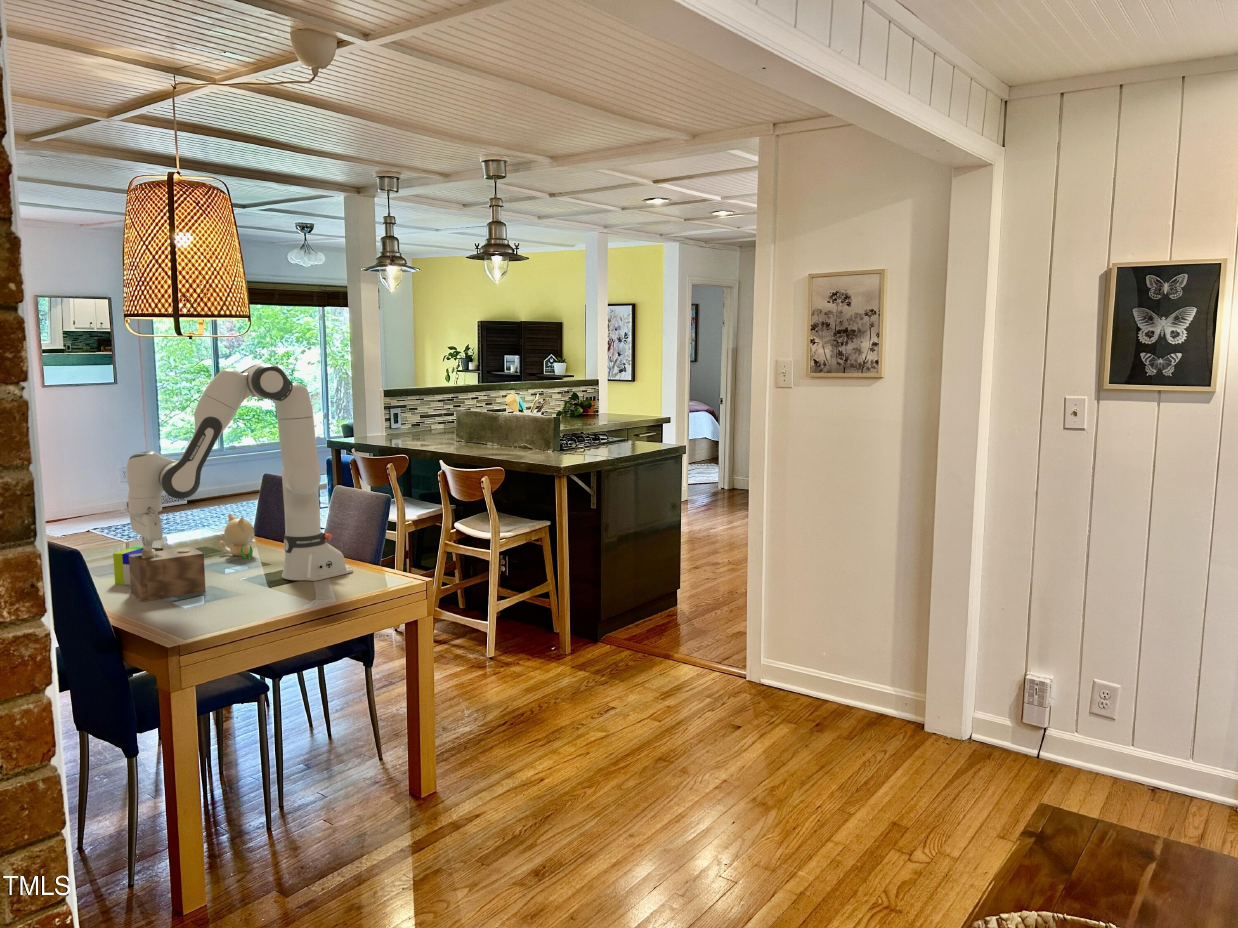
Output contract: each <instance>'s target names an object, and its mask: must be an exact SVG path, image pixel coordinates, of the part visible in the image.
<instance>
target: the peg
mask: <svg viewBox="0 0 1238 928" xmlns="http://www.w3.org/2000/svg"><path fill="white" fill-rule="evenodd" d="M141 553H142V559H144V558H151V557H155V550H154V549H152V551H148V552H147V551H145V550H142V551H141Z"/></svg>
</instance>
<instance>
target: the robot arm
mask: <svg viewBox="0 0 1238 928" xmlns="http://www.w3.org/2000/svg"><path fill="white" fill-rule="evenodd" d="M251 396H252V397H255V398H259V399H263V400H266V399H268V400H272V401H273V403H274V405H275V408H276V417H277V429H278V438H279V439H278V440H279V445H280V452H281V460H282V469H281V470H282V471H281V479H282V480H281V482H282V496H283V509H284V529H285V530H284V531H285V534H284V536H283V548H284V552H285V555H284V565H283V569H282V574H281V578H282V579H285V580H288V581H289V580H290V581H311V582H312V581H313V582H315V581H320V580H324V579H329V578H334V577H337V576H342V575H347V574H350V573H353V568H352V567H351V566H350V565H349V564H346V560H345V557H344V556H345V555H344V554H343V553H342V551H340V550H339V549H337V548H335V547H334V546H333V545H332V544H329V543H328V542H327V541H331V539H332V534H331V533H324V532H323V531H321V530H322V529H321V527H322V526H321V507H320V497H319V486H320V484H321V482H322V481H321V480H322V479H321V478H322V476H321V469H320V462H319V461H320V460H319V454H318V447H317V441H316V431H315V419H314V410H313V404H312V400H311V397H310V393H309V390H308V388H307V387H306V386H305V385H303V384H301V383H298V382H297V383H296V382H292V381H291V380H290V378H289V377H288V376H287V374H286V373H285V371H284V370H283V369H281V368H280V367H279V366H278V365H275V364H270V363H265V362H264V363H257V364H254V365H253V364H252V365H251V366H250V367H248V368H246V369H244V370H243V371H238V370H236V369H233V368H224V369H221V370H220V371H219V372H218V373H217V374H216V375H215V376H214V378H212V380H211V381H210V382H209V384H208V385H207V387H206V388H205V389H204V391H203V393H202V394H201V396H200V398H199V399H198V402H197V405H196V407H195V410H194V412H193V417H194V432H193V435H192V437H191V439H190V441H189V443H188V445H187V447H186V449H185V451H184V452H183V454H182V455H181V458H180V459H179V460H177V459H176V460H175V459H172V458H169V457H166V456H164V455H161V454H160V453H158V452H156V451H154V450H148V451H147V450H146V451H141V452H137V453H134V454H133V455H130V457H129V459H127V463H126V464H127V465H126V481H127V482H126V483H127V486H128V495H127V499H128V500H127V502H126V508H127V509H128V513H129V520H130V521H129V522H130V527H131V530H132V532H134V533H135V534H137V535H139V536H140V538H141V543H142V547H143V549H144V550H145V551H147V552H148V551H152V548H153V543H154V541H156V542H157V541H162V540H163V527H162V526H163V525H162V519H161V516H160V514H158V513H159V512H161V511H162V510H163V503H162V502H163V501H162V492H165V494H166V495H167V496H169V497H171V498H173V499H178V500H181V499H183V500H184V499H188V498H190V497H191V496H193V495H195V494H196V493H197V491H198V490H199V488H200V485H201V475H202V474H201V473H202V469H203V468H204V466H205V463H206V461H207V460H208V458H209V455H210V453H211V452H212V450H213V448H214V446H215V445H216V443H217V441H218V439H220V436H221V435H222V434H223V433H224V431H225V430H226V428H227V427H228V426H229V425H230V423H231V421H232V420H233V419H234V417H235V415H236V414H237V412H238V411H239V409H240V407H241V405H242V403H243V402H244V401H245V400H246V399H248V397H251Z"/></svg>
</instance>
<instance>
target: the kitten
mask: <svg viewBox="0 0 1238 928" xmlns="http://www.w3.org/2000/svg"><path fill="white" fill-rule="evenodd" d="M227 517H228V523H227V524H226V526H225V528H224V533H223V536H224V539H225V541H226V542H227V543H228V544H231V545H232V546H231V548H229V547H228V546H227V545H226V542H225V541H224V540H220V541H219V543H218V544H219V547H220V548H221V549H222V550H224V551H225V553H227V554H230V555H232V556H236V557H242V558H243V560H244V559H245V560H246V559H248V560H250V559H253V553H254V550H253V547H252V546H251V545H250V544H251V543H252V542H253V540H254V538H255V532H256V529H255V527H254V526H253V525H252V523H251V522H250V520H247V519H246V518H244V517H243V516H242V517H240V518H239V517H238V518H236V516H234V515H233V514H232V513H228V515H227ZM249 558H250V559H249Z"/></svg>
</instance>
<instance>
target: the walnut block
mask: <svg viewBox="0 0 1238 928" xmlns="http://www.w3.org/2000/svg"><path fill="white" fill-rule="evenodd" d="M204 555H205V554H204V552H202V551H200V550H198V549H196V548H195V547H193V546H187V547H180V548H171V549H163V550H162V551H155V557H151V558H144V559H142V553H140V554H132V555H129V569H130V585H129V586H130V594H131V595H132V596H134V597H135V598H136V599H137V600H138V601H140V603H141V602H142V603H143V602H148V601H155V600H160V599H167V598H172V597H173V598H174V597H178V596H179V597H180V596H183V595H189V594H196V593H202V592H203V593H204V592H206V590H207V589H206V572H205V570H206V569H205V556H204Z"/></svg>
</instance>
